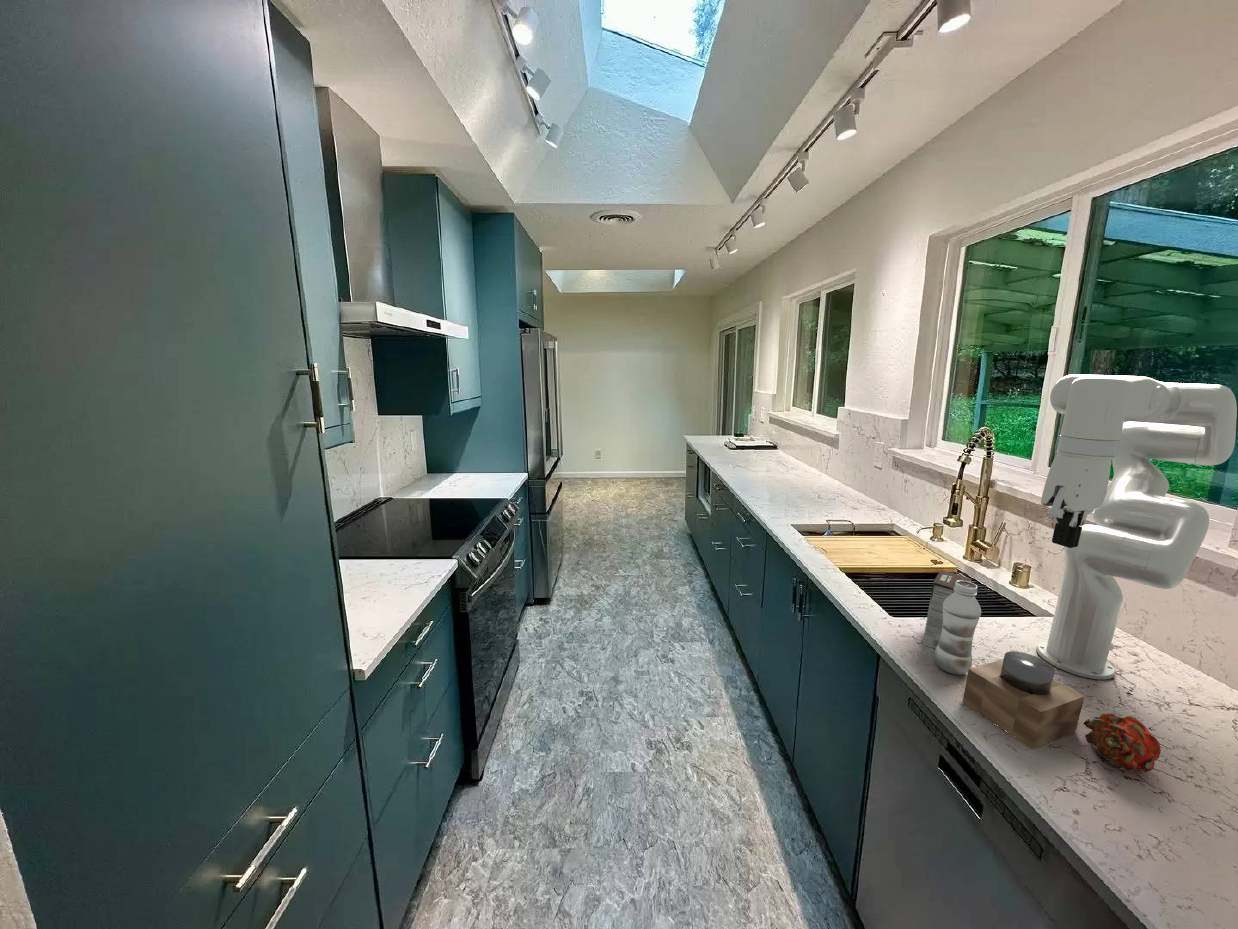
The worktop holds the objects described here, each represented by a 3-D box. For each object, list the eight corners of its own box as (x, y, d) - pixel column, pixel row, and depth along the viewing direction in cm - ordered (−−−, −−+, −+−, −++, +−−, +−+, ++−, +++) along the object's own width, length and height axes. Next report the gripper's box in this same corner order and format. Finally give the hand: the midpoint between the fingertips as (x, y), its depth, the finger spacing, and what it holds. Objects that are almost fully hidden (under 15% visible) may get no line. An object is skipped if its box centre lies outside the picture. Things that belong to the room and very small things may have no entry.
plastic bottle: (976, 681, 98) (993, 593, 94) (940, 676, 99) (956, 589, 95) (960, 662, 104) (976, 579, 100) (927, 658, 106) (941, 575, 101)
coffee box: (930, 629, 117) (940, 569, 114) (961, 640, 113) (973, 578, 109) (921, 644, 111) (931, 581, 107) (954, 656, 106) (966, 591, 103)
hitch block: (1003, 689, 96) (1010, 656, 94) (1075, 732, 85) (1084, 696, 83) (962, 702, 92) (968, 669, 90) (1032, 749, 81) (1041, 712, 79)
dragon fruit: (1109, 788, 75) (1105, 755, 84) (1182, 787, 70) (1170, 752, 79) (1075, 731, 78) (1075, 705, 87) (1144, 726, 73) (1136, 698, 81)
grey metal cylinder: (1009, 698, 93) (1020, 648, 90) (1051, 723, 86) (1064, 670, 84) (984, 706, 90) (995, 655, 88) (1026, 733, 84) (1038, 678, 82)
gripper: (1086, 442, 89) (1065, 533, 93) (1034, 446, 84) (1015, 542, 88) (1139, 449, 82) (1114, 547, 86) (1087, 453, 77) (1063, 557, 81)
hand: (1064, 544), depth 87 cm, fingers closed
